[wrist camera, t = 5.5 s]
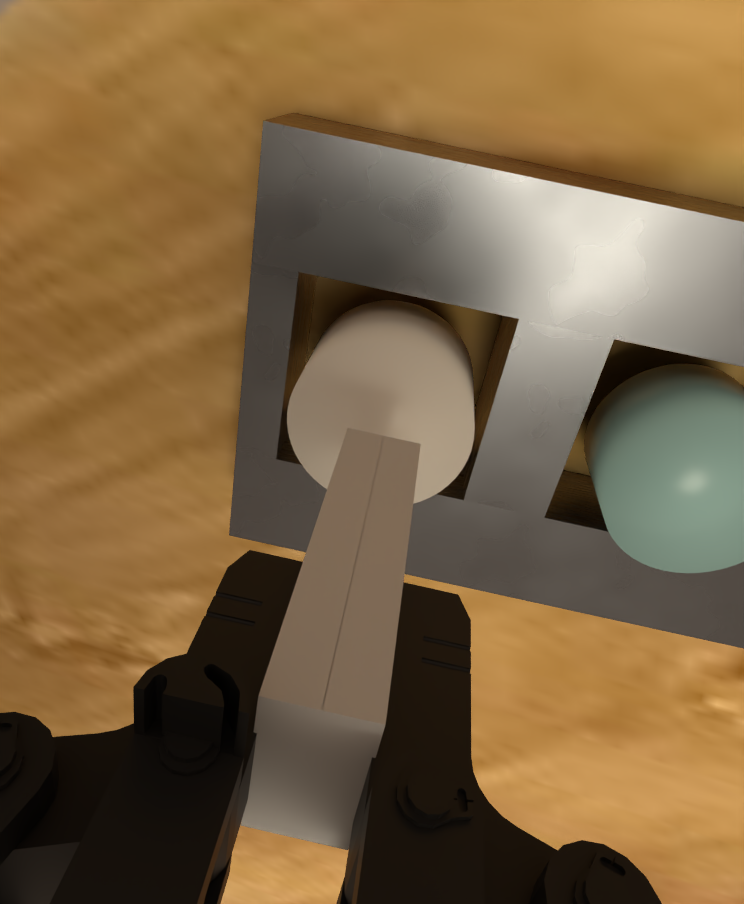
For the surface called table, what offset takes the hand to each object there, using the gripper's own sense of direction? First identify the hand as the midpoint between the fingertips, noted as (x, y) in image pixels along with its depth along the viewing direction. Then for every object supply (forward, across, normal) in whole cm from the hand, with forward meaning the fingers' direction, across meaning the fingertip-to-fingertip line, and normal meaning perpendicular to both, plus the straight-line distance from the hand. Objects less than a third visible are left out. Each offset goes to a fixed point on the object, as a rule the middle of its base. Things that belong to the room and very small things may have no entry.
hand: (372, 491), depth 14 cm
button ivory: (+6, 0, 0) cm, 6 cm away
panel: (+8, +8, 0) cm, 11 cm away
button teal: (+6, +8, 0) cm, 10 cm away
